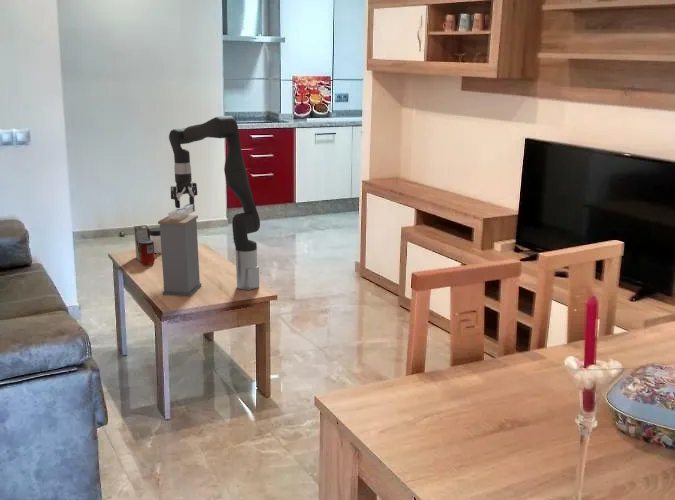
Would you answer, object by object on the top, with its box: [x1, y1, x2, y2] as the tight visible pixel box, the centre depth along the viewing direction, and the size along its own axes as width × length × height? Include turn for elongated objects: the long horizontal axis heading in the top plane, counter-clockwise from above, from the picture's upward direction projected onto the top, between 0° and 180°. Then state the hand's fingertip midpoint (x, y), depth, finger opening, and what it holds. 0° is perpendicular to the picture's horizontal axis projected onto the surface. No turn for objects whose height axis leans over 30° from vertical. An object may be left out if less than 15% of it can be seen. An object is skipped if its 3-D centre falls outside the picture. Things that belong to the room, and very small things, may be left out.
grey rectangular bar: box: [167, 203, 196, 221], centre depth 308 cm, size 19×5×3 cm, turn 170°
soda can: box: [139, 239, 156, 267], centre depth 349 cm, size 7×7×12 cm
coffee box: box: [133, 224, 151, 262], centre depth 358 cm, size 9×6×16 cm
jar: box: [149, 226, 162, 253], centre depth 371 cm, size 9×8×12 cm
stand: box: [157, 214, 202, 297], centre depth 308 cm, size 14×12×32 cm
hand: (185, 206), depth 338 cm, fingers open, 8 cm apart
